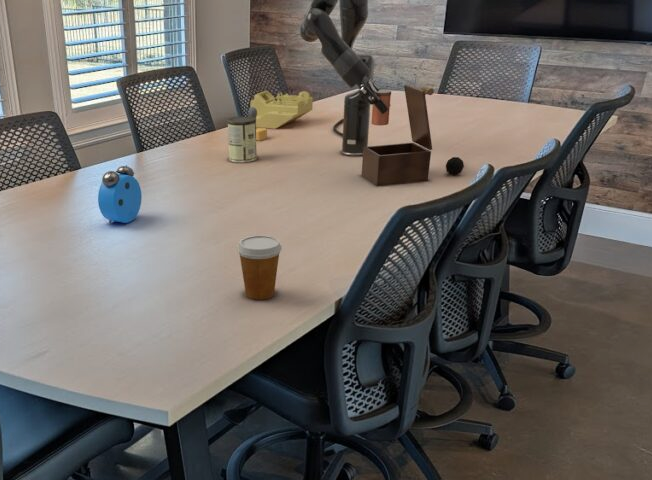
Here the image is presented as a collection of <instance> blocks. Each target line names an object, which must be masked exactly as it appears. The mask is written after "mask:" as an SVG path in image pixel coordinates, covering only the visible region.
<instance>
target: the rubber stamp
mask: <svg viewBox="0 0 652 480" xmlns="http://www.w3.org/2000/svg"><path fill="white" fill-rule="evenodd" d="M248 116H249V117H254V118H256V116H257V110H256V108H254V107H251V106H250V108H248ZM266 139H268V128H262V127H256V142H257V141H258V142H259V141H263V140H266Z"/></svg>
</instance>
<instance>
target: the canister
mask: <svg viewBox="0 0 652 480" xmlns="http://www.w3.org/2000/svg"><path fill="white" fill-rule="evenodd" d="M376 91H377V95H378V97H379V98H380V100H381V101H382V102H383V103H384V104H385V105H386V106H387V108H388V110H387V111H386V112H385V113H384V114H382V113H381V112H380V111H379V110H378V108H377V107H376V106H375V105H372V110H371V125H372V126H380V127H381V126H387V125H389V121H390V111H391V110H390V109H391V106H390V105H391V98H392V97H391V96H392V90H390V89H381V90H376ZM373 98H374V97H373ZM373 98H372V99H373Z"/></svg>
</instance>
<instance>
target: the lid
mask: <svg viewBox="0 0 652 480" xmlns="http://www.w3.org/2000/svg"><path fill="white" fill-rule="evenodd" d="M403 88H404V95H405V103H406V110H407V114H408V121H409V122H408V123H409V129H410V136H411V141H412V143H415V144H417V145H419V146H421V147H423V148H425V149H427V150H429V151H432V150H433V144H432V136H431V129H430V128H431V127H430V120H429V114H428V106H427V99H426V95H428V96H432V95H433V94H434V93H435V89H433V88H432V87H429V86H427V85H422V86H421V88H418V87H415V86H412V85H409V84H404V85H403Z"/></svg>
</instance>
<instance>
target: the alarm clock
mask: <svg viewBox="0 0 652 480" xmlns="http://www.w3.org/2000/svg"><path fill="white" fill-rule="evenodd" d="M134 176H135V171H134V169H132V168H131V167H130V166H128V165H127V164H126V165H121V166H119V167H118V168H116V170H115V171H114V170H109V171H106V172H105V173H104V174H103V175H102V178H101V183H100V185H99V188H98V194H97V202H98V208H99V212H100V214H101V215H102V217H103V218H105V219H106V220H108V222H109V225H111V223H112V222H116V223H123V224H129V223H131V222H132V221H134V220H135V219H136V217H137V216H138V214H139V212H140V209H141V205H142V189H141V188H142V187H141V185H140V183H139V181H138V180H137V178H136V177H134Z"/></svg>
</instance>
